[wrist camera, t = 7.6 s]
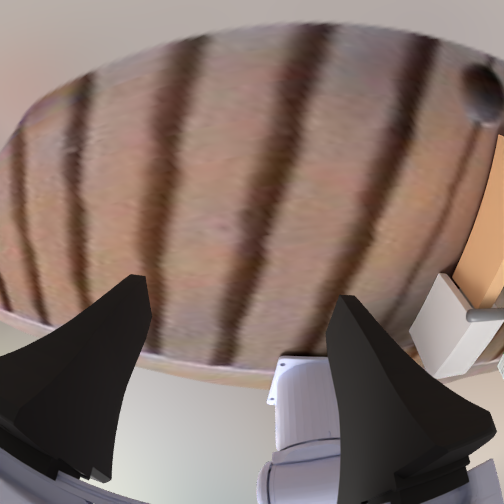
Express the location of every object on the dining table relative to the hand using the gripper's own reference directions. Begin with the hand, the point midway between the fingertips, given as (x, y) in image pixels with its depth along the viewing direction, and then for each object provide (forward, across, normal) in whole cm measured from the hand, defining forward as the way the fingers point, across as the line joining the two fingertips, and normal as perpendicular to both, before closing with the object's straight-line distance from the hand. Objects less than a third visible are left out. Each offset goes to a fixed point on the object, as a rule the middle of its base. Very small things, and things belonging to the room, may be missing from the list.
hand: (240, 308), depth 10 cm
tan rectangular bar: (+9, -19, -3) cm, 21 cm away
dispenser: (+9, -19, +7) cm, 22 cm away
